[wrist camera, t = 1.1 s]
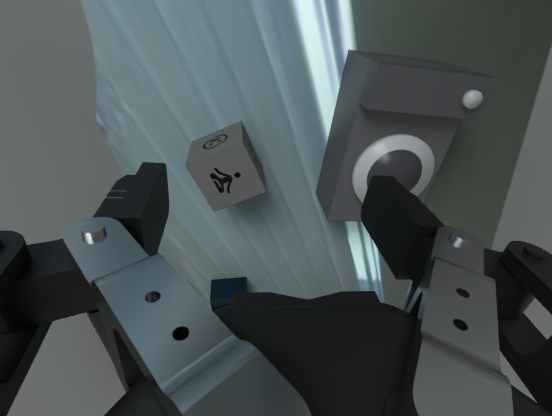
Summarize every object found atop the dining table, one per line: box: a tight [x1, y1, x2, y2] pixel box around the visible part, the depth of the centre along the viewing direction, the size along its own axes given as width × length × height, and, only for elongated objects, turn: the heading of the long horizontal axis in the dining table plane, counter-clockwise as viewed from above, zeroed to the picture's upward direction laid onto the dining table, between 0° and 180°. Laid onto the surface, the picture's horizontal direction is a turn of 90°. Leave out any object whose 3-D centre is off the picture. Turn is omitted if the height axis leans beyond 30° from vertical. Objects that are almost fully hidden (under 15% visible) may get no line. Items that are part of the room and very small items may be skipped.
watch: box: [210, 277, 247, 311], centre depth 36 cm, size 6×8×11 cm
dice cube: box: [185, 121, 266, 212], centre depth 28 cm, size 5×5×5 cm
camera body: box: [316, 50, 497, 222], centre depth 28 cm, size 14×9×7 cm, turn 173°
